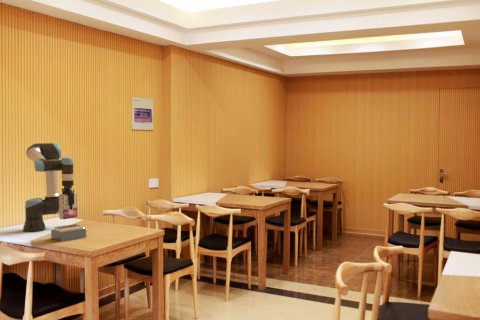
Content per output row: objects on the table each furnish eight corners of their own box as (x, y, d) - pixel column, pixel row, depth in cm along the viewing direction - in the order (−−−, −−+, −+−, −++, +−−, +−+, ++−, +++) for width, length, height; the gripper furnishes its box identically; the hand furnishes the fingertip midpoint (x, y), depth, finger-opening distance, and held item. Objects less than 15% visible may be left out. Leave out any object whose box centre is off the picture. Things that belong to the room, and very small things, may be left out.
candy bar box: (72, 216, 318) (72, 192, 317) (77, 217, 316) (77, 193, 315) (58, 218, 309) (58, 194, 308) (63, 219, 306) (63, 195, 305)
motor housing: (51, 238, 311) (51, 226, 311) (82, 233, 328) (82, 222, 328) (60, 241, 302) (60, 229, 301) (92, 236, 319) (92, 224, 318)
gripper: (56, 179, 315) (56, 213, 316) (68, 181, 302) (69, 216, 303) (66, 178, 320) (67, 211, 321) (79, 180, 307) (80, 214, 308)
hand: (68, 213), depth 312 cm, fingers closed on candy bar box, 6 cm apart
